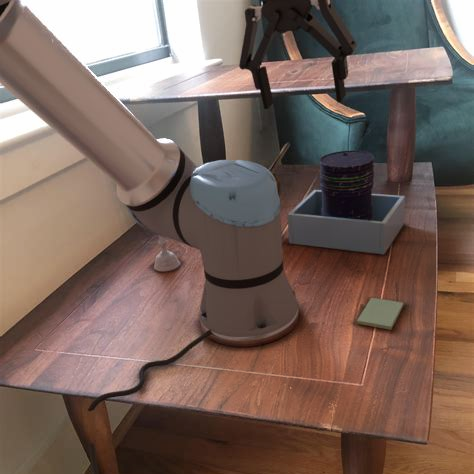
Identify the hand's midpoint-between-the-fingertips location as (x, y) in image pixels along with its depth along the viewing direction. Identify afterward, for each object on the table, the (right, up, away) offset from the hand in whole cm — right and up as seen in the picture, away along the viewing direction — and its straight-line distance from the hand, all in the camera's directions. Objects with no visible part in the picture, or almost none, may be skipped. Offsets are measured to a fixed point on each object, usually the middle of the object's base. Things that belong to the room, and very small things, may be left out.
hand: (304, 102), depth 96 cm
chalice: (-25, -28, +8) cm, 39 cm away
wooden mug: (-7, -20, +17) cm, 27 cm away
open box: (+10, -22, +11) cm, 26 cm away
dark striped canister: (+10, -22, +11) cm, 26 cm away
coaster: (+10, -37, -15) cm, 41 cm away
